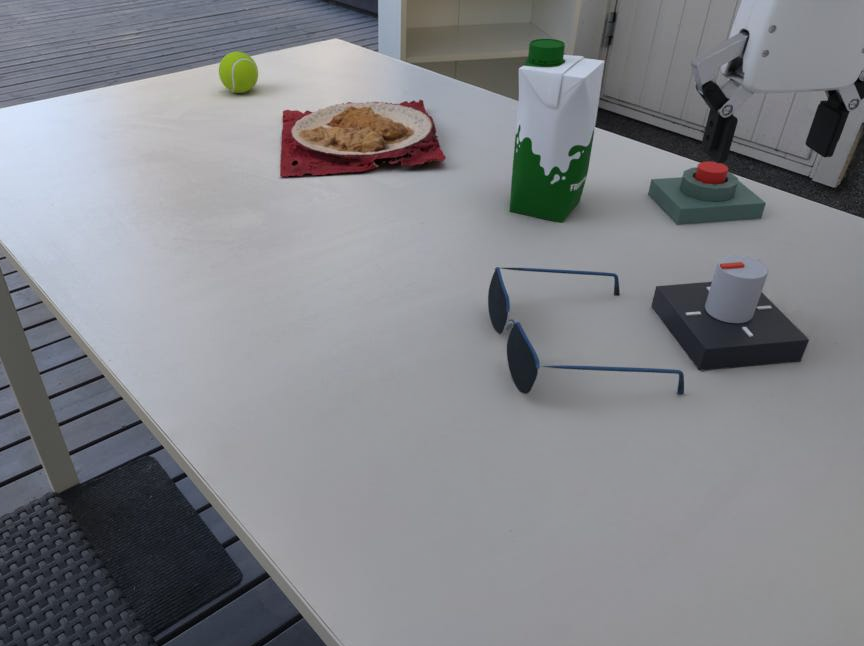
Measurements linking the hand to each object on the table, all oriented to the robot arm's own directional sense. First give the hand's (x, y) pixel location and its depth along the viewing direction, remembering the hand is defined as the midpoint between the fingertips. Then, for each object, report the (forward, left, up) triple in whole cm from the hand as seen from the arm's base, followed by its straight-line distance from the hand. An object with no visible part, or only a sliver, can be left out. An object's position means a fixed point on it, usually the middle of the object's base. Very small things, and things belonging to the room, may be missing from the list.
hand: (766, 154), depth 66 cm
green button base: (-10, -24, -17) cm, 31 cm away
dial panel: (+1, +3, -17) cm, 17 cm away
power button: (-10, -24, -14) cm, 30 cm away
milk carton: (+10, -27, -17) cm, 34 cm away
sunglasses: (+16, +3, -17) cm, 24 cm away
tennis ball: (+51, -82, -17) cm, 98 cm away
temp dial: (+1, +3, -15) cm, 15 cm away
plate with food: (+32, -54, -17) cm, 65 cm away
